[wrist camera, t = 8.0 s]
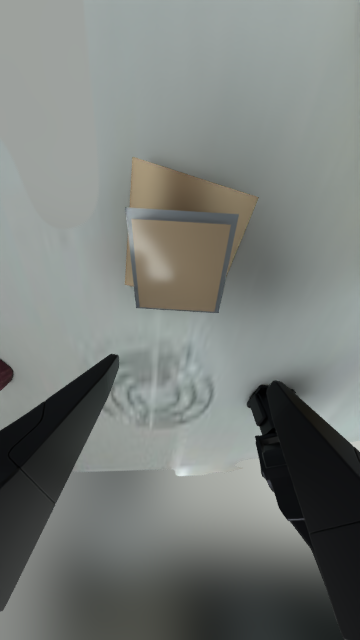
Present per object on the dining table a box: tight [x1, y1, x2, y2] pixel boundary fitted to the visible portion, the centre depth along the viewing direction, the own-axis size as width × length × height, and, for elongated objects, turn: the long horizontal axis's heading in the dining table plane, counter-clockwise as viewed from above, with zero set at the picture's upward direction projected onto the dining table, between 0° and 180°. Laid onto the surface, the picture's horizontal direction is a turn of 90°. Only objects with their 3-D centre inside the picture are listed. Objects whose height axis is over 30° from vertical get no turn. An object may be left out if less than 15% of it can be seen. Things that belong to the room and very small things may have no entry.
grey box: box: [125, 207, 239, 313], centre depth 11 cm, size 5×5×7 cm
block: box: [125, 157, 259, 287], centre depth 15 cm, size 9×9×4 cm
